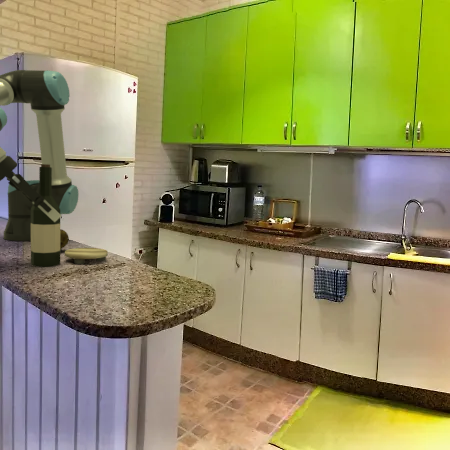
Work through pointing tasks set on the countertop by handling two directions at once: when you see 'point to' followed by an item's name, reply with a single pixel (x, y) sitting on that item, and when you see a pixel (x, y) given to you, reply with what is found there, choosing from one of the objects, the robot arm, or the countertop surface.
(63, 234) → the potato
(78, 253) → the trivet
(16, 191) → the robot arm
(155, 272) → the countertop surface
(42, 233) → the wine bottle
